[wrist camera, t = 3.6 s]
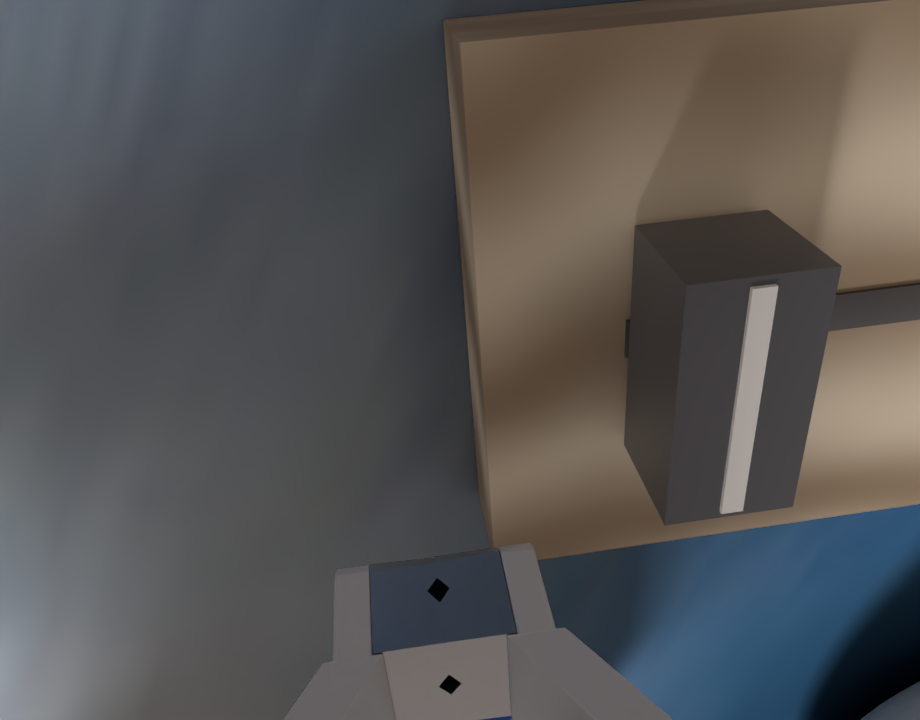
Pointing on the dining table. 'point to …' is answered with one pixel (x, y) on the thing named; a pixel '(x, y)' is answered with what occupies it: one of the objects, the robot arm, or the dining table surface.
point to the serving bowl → (899, 706)
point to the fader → (724, 361)
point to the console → (668, 199)
